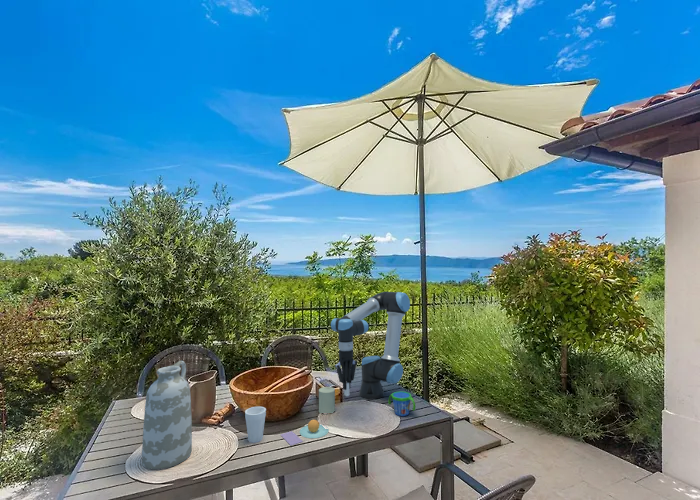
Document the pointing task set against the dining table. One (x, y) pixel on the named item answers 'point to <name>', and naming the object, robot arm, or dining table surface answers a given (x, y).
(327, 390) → the can
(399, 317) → the robot arm
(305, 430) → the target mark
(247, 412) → the foam cup
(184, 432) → the vase
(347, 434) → the dining table surface
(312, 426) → the ball
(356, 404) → the dining table surface
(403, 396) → the snack cup
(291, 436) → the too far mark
